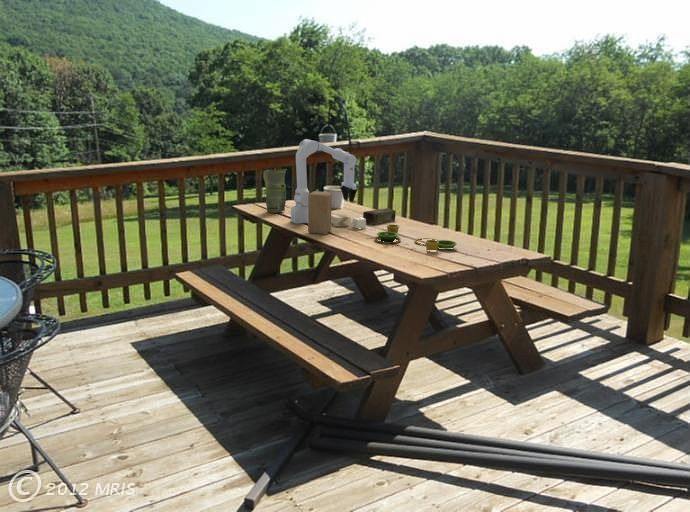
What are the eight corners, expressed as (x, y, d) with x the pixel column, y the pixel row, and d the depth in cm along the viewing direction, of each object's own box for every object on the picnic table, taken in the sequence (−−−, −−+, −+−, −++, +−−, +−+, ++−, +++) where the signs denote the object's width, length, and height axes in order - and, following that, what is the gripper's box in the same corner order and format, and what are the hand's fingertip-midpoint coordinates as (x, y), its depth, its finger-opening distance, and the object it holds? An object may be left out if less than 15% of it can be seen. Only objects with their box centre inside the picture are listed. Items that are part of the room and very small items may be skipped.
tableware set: (362, 239, 328) (363, 226, 326) (406, 233, 343) (407, 220, 341) (416, 258, 295) (417, 244, 293) (462, 250, 310) (463, 237, 308)
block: (326, 234, 332) (327, 195, 327) (307, 233, 334) (307, 194, 329) (331, 230, 342) (332, 191, 336) (312, 229, 343) (312, 190, 338)
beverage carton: (396, 220, 370) (396, 209, 369) (372, 225, 357) (373, 213, 355) (385, 218, 376) (385, 206, 374) (361, 223, 363) (362, 211, 361)
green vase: (261, 212, 383) (261, 169, 377) (271, 209, 394) (271, 166, 388) (279, 214, 379) (278, 170, 373) (288, 210, 390) (288, 168, 384)
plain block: (336, 227, 351) (337, 217, 349) (330, 224, 357) (330, 215, 356) (350, 226, 354) (350, 216, 353) (343, 223, 361) (343, 214, 360)
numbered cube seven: (357, 229, 347) (357, 219, 345) (352, 227, 351) (352, 217, 350) (365, 228, 349) (365, 218, 348) (361, 226, 353) (361, 216, 352)
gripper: (361, 177, 362) (360, 202, 365) (349, 174, 375) (349, 197, 378) (349, 178, 359) (349, 203, 362) (338, 174, 372) (337, 198, 375)
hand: (348, 200), depth 370 cm, fingers open, 7 cm apart
